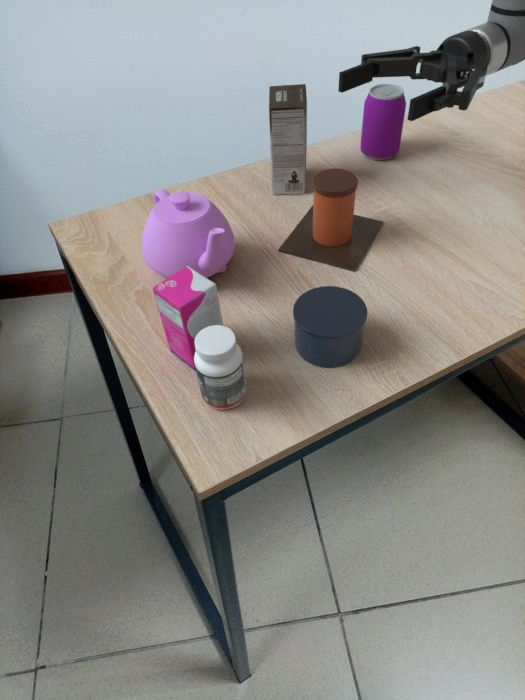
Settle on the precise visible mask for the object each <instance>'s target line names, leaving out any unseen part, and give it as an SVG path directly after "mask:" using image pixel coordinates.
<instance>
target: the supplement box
mask: <svg viewBox="0 0 525 700" xmlns="http://www.w3.org/2000/svg"><path fill="white" fill-rule="evenodd" d="M152 292H153V296H154V299H155V302H156V306H157V310H158V313H159V317H160V319H161V322H162V323H161V324H162V328H163V330H164V333H165V338H166V340H167V344H168V348H169V351H170V352H171V353H172V354H174V355H175V356H176V357H177V358H179V359H180V360H181V361H182V362H184V363H185V364H186V365H187V366H188V367H190V368H191V369H192V370H194V371H195V372H196V368H195V364H194V355H195V352H196V350H195V337H196V335H197V334H198V333H199V332H200V331H201V330H202V329H204V328H206V327H209V326H213V325H221V326H224V323H223V316H222V311H221V304H220V299H219V293H218V287H217V284H216V283H215V282H213V281H212V280H210V279H209V278H205V277H204V276H202V275H200V274H199V273H197V272H196V271H194V270H193V269H191V268H190V267H188V266H186V267H185V268H183V269H182V270H180V271H178V272H177V273H175V274H174V275H172V276H170V277H169V278H165V279H164V280H162V281H161V282H159V283H157V284H156V285H154V286H153V287H152Z"/></svg>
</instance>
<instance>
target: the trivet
mask: <svg viewBox="0 0 525 700" xmlns="http://www.w3.org/2000/svg"><path fill="white" fill-rule="evenodd" d="M383 225H384V220H379V219H374V218H371V217H366V216H361V215H358V214H354V215H353V227H352V237H351V239H350V240H349V241H348V242H347V243H345V244H343V245H340V246H325V245H322V244H319V243H318V242H316V241H315V239H314V238H313V205H311V207H309V209H308V211H307V212H306V213H305V214H304V216H303V217H302V218H301V219H300V221H299V223H297V224H296V226H295V227H294V228H293V230H292V231H291V232H290V234H289V235H288V236H287V238H286V239H285V240H284V241H283V243H282V244H281V245H280V246H279V248H278V249H277V250H278V252H280V253H284V254H287V255H292V256H295V257H299V258H302V259H305V260H310V261H313V262H317V263H321V264H324V265H329V266H332V267H336V268H340V269H343V270H347V271H351V272H355V271H356V270H357V268H358V266H359V265H360V263H361V261H362V260H363V258H364V256H365V255H366V253H367V251H368V250H369V248H370V246H371V245H372V243H373V242H374V240H375V238H376V236H377V235H378V233H379V232H380V230H381V228H382V226H383Z"/></svg>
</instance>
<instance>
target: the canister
mask: <svg viewBox="0 0 525 700" xmlns="http://www.w3.org/2000/svg"><path fill="white" fill-rule="evenodd" d="M358 184H359V179H358V176H357V175H356V174H355V173H354V172H352V171H350V170H347V169H344V168H328V169H322V170H320V171H318V172H317V173H316V174H315V175H314V176H313V177H312V190H313V202H312V203H313V205H312V206H313V238H314V239H315V241H316V242H318V243H319V244H322V245H325V246H340V245H343V244H345V243H347V242H348V241H349V240H350V239H351V237H352V227H353V215H355V203H356V202H355V201H356V192H357V189H358Z"/></svg>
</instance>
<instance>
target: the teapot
mask: <svg viewBox="0 0 525 700" xmlns="http://www.w3.org/2000/svg"><path fill="white" fill-rule="evenodd" d="M153 200H154V206H153V207H152V209H151V211H150V213H149V215H148V217H147V220H146V222H145V225H144V228H143V232H142V239H141V251H142V255H143V260H144V262H145V264H146V265H147V266H148V267H149V269H150V270H151V271H153V272H154V273H156V274H157V275H159V276H160V277H163V278H164V279H167V278H169V277H170V276H172V275H174V274H175V273H177V272H178V271H180V270H182V269H183V268H185V267H186V266H188V267H190V268H191V269H193V270H194V271H196V272H197V273H199V274H200V275H202V276H204V277H205V278H207V279H209V277H212V276H214V275H216V274H217V273H219V274H220V273H223V272H225V271H226V270H227V268H228V266H227V265H228V263H229V261H230V260H231V259H232V258H233V255H234V253H235V249H236V240H235V236H234V232H233V229H232V227H231V224H230V222H229V221H228V219H227V218H226V217H225V215H224V214H223V212H222V211H221V210H220V208H218V207H217V206H216V205H215V203H214V202H213V201H211V200H210V199H209V198H207V197H206V196H204V195H203V194H200V193H198V192H194V191H177V192H175V193H172V194H170V192H169V191H167V190H166V189H159V190H156V191H155V192H154V193H153Z"/></svg>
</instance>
